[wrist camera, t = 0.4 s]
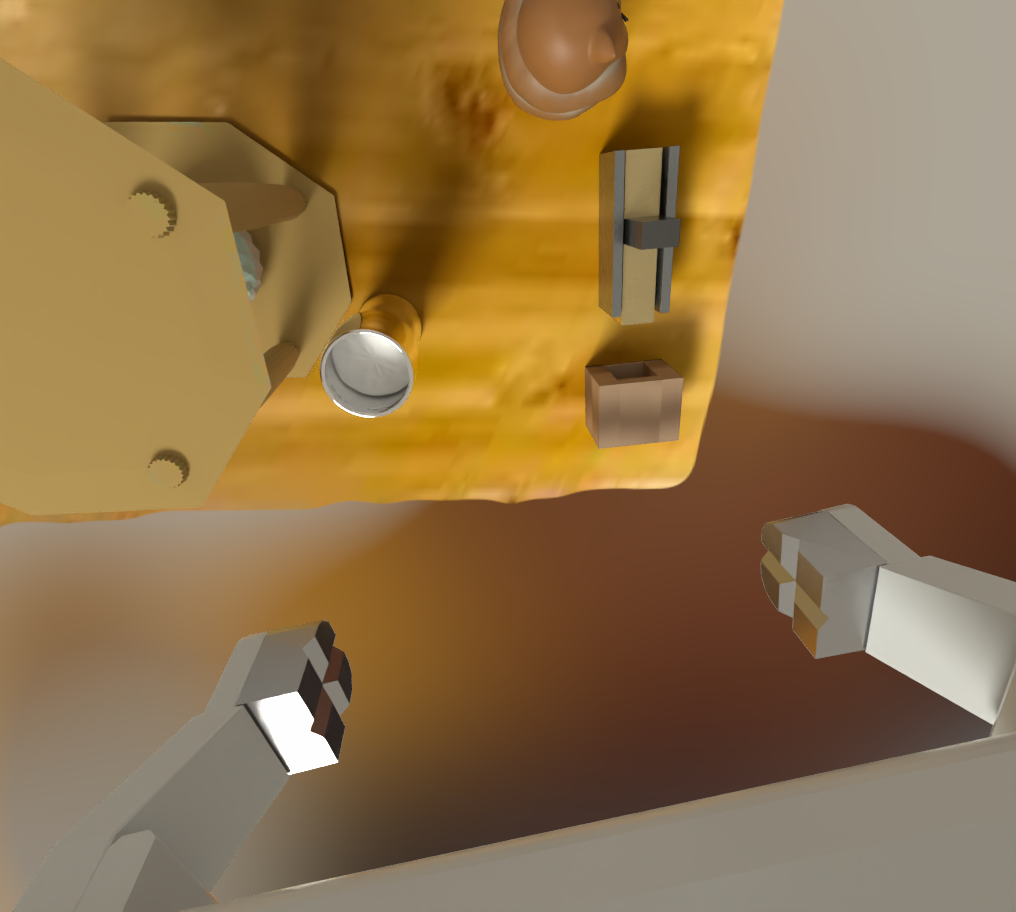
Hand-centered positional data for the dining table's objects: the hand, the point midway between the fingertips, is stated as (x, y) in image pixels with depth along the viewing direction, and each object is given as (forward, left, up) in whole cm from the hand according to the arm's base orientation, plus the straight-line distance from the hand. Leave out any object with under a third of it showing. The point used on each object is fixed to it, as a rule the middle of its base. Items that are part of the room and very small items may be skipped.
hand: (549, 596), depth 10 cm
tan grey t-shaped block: (-1, +14, -43) cm, 46 cm away
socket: (+14, +15, -45) cm, 49 cm away
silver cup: (+5, -8, -45) cm, 46 cm away
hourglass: (-2, -22, -45) cm, 50 cm away
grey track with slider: (-2, +15, -45) cm, 47 cm away
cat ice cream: (-14, +7, -45) cm, 47 cm away
